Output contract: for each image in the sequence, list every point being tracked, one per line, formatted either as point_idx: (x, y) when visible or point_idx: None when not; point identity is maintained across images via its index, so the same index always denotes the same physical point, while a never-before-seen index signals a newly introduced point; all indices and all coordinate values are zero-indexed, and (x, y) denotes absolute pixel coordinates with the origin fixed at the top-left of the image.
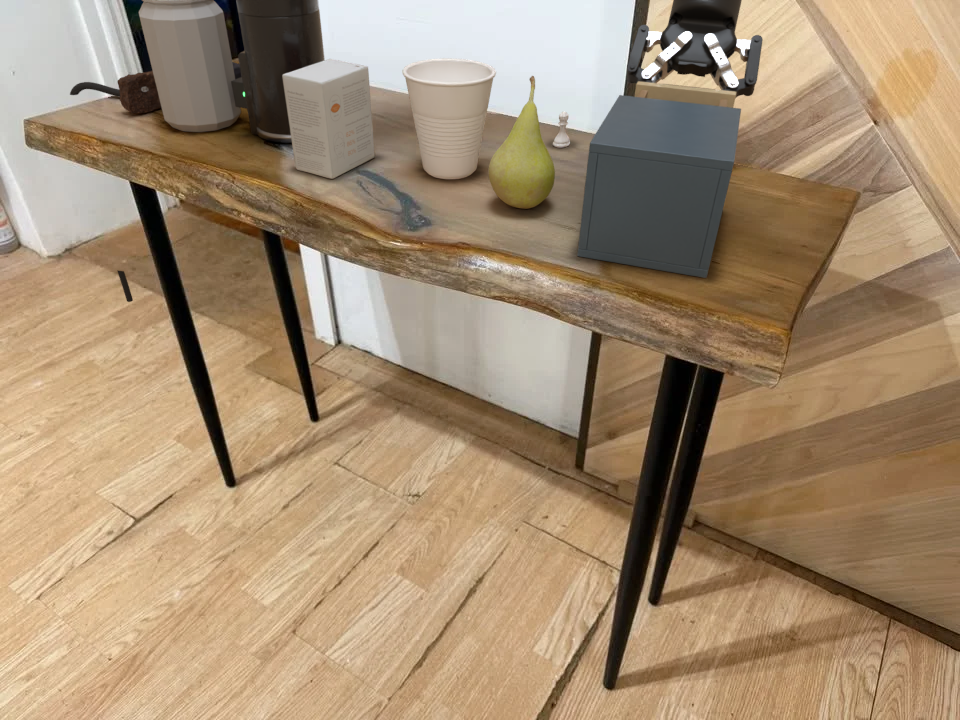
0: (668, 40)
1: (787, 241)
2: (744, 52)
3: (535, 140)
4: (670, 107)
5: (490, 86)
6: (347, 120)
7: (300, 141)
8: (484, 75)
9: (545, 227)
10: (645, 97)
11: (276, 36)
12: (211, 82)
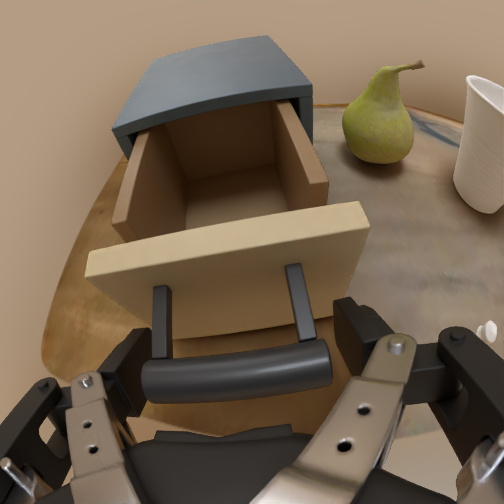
0: (407, 500)
1: (111, 212)
2: (27, 478)
3: (365, 88)
4: (216, 83)
5: (484, 112)
6: None
7: None
8: None
9: (325, 135)
10: (297, 156)
11: None
12: None
